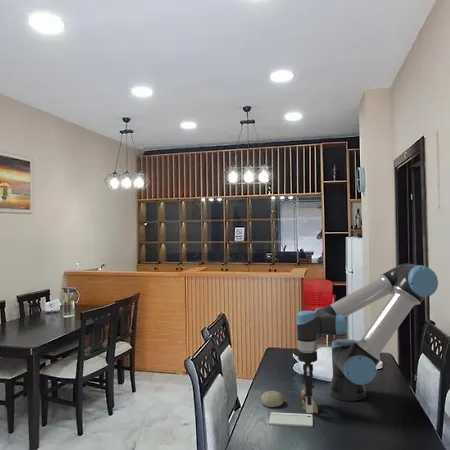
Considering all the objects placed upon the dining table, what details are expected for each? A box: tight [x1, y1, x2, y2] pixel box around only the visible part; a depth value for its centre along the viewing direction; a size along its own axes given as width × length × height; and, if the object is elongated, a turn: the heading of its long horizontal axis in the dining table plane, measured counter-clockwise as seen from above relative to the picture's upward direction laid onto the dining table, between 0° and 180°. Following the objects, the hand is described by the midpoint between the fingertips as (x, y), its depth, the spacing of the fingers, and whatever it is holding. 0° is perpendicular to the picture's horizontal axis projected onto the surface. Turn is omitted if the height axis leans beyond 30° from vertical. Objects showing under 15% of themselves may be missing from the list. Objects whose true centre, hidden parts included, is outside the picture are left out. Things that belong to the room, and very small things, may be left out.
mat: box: [268, 414, 314, 428], centre depth 156 cm, size 16×7×1 cm, turn 79°
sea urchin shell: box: [260, 390, 285, 408], centre depth 172 cm, size 9×8×8 cm
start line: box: [270, 411, 313, 417], centre depth 161 cm, size 16×2×1 cm, turn 79°
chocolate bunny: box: [300, 387, 319, 415], centre depth 165 cm, size 6×8×10 cm
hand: (309, 408), depth 165 cm, fingers closed on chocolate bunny, 7 cm apart
